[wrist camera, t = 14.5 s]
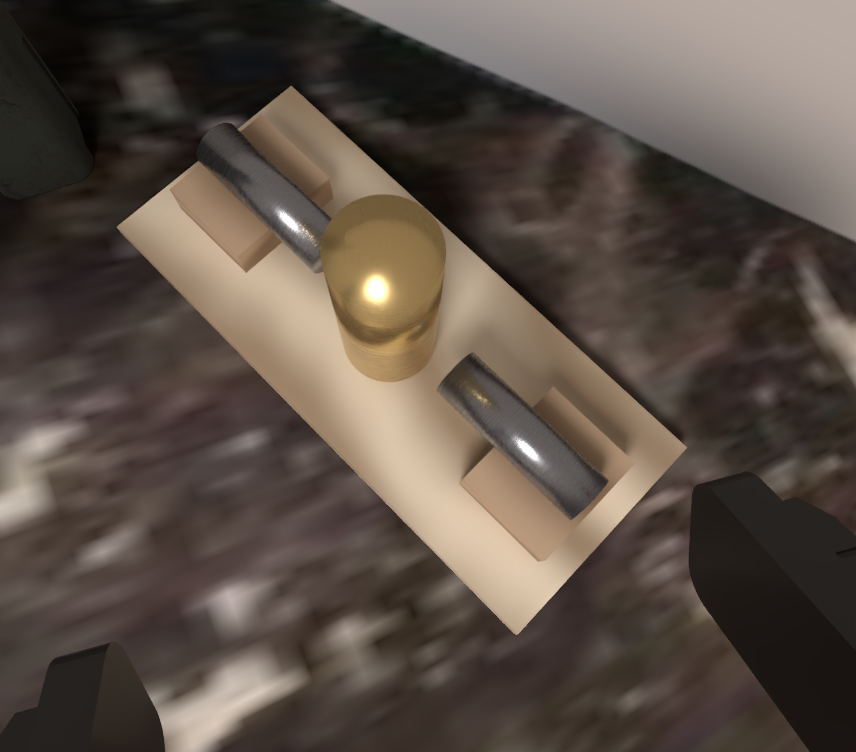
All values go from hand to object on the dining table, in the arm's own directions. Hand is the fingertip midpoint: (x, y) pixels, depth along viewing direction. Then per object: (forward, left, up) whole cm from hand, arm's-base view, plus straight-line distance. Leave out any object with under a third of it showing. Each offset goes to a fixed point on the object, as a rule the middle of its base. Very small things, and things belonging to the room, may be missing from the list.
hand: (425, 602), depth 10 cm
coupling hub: (+8, +9, -24) cm, 27 cm away
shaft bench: (+8, +9, -25) cm, 28 cm away
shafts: (+8, +9, -22) cm, 26 cm away
